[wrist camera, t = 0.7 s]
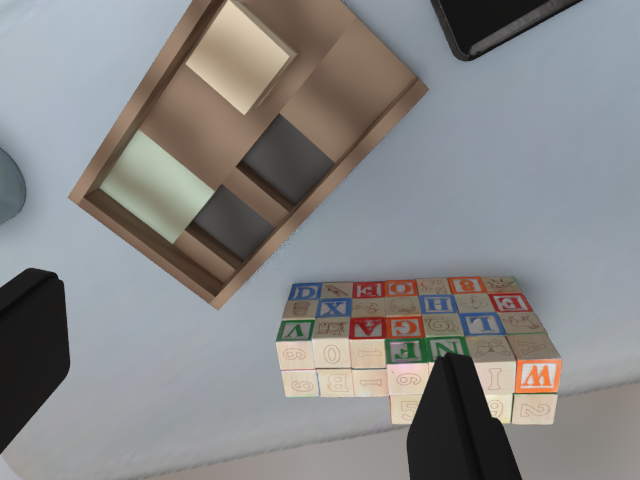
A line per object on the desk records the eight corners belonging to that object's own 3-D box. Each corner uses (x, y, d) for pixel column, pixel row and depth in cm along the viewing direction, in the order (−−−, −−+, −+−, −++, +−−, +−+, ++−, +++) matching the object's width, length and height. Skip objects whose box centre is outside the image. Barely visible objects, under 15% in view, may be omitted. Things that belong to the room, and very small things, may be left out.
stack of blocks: (299, 333, 48) (277, 425, 37) (292, 282, 45) (265, 364, 34) (510, 329, 45) (555, 427, 34) (515, 274, 42) (565, 361, 31)
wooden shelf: (266, -74, 32) (250, -90, 28) (422, 81, 36) (429, 89, 31) (99, 179, 42) (67, 197, 38) (233, 282, 46) (218, 310, 41)
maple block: (248, 3, 32) (228, -1, 28) (300, 53, 33) (289, 56, 29) (210, 59, 34) (185, 63, 30) (260, 104, 35) (244, 115, 31)
